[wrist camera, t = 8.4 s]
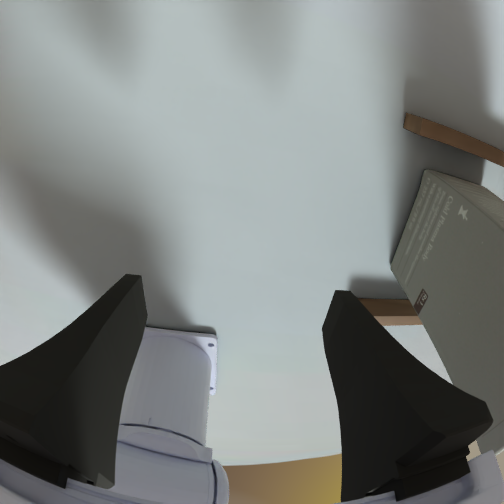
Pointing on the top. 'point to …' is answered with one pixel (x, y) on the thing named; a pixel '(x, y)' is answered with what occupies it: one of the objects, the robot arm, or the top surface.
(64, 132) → the top surface
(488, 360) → the skincare box
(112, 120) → the top surface
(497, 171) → the top surface
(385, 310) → the walnut bay
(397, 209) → the top surface
